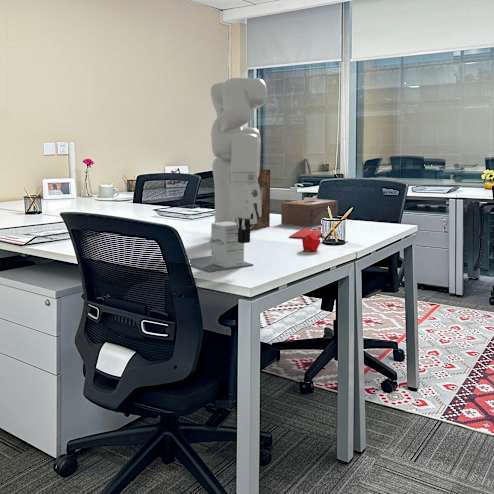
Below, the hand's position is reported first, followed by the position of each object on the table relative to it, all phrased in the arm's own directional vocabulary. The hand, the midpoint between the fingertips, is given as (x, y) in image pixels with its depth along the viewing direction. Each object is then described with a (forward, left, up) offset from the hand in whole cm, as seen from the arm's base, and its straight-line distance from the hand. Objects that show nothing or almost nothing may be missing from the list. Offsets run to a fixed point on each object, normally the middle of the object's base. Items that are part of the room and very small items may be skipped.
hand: (244, 242), depth 166 cm
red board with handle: (-66, -39, -9) cm, 77 cm away
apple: (-38, -13, -9) cm, 41 cm away
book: (-55, -66, -9) cm, 86 cm away
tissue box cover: (-86, -65, -9) cm, 108 cm away
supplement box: (0, -8, -8) cm, 12 cm away
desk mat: (+1, -14, -8) cm, 16 cm away
